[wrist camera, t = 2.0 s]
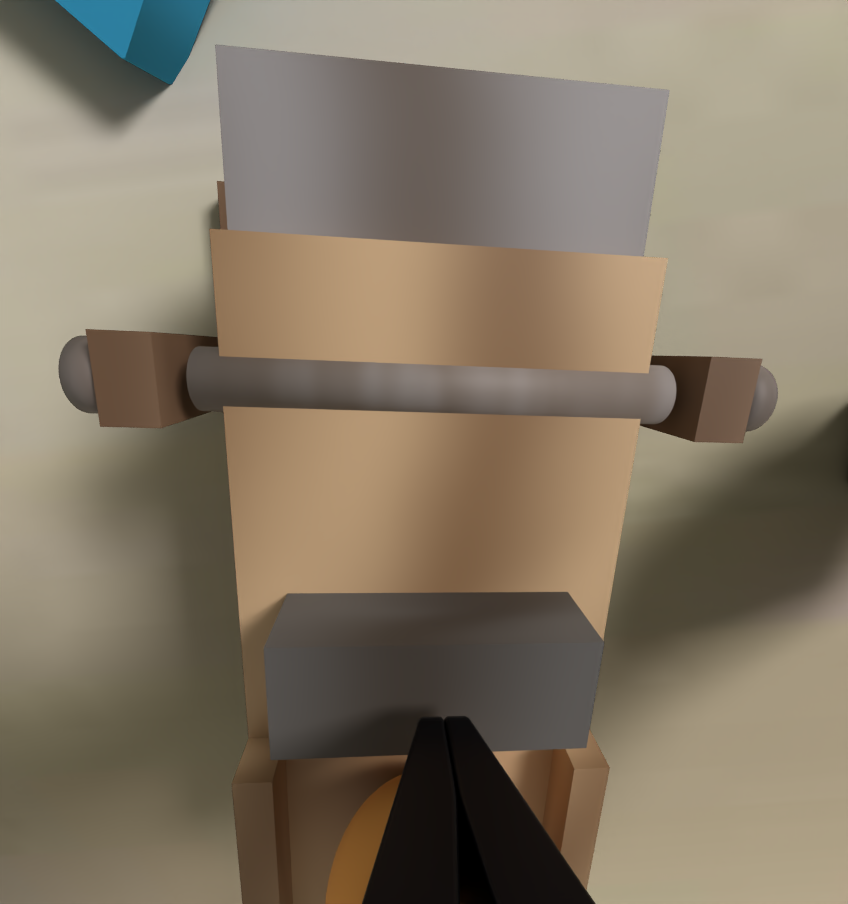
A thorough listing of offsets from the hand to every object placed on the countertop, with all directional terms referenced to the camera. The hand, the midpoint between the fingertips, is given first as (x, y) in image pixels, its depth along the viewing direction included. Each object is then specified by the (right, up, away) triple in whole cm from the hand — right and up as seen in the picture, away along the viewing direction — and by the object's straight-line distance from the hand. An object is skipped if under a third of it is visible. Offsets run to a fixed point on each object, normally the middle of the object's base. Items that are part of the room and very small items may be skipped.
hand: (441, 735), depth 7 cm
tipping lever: (-1, +2, +8) cm, 8 cm away
